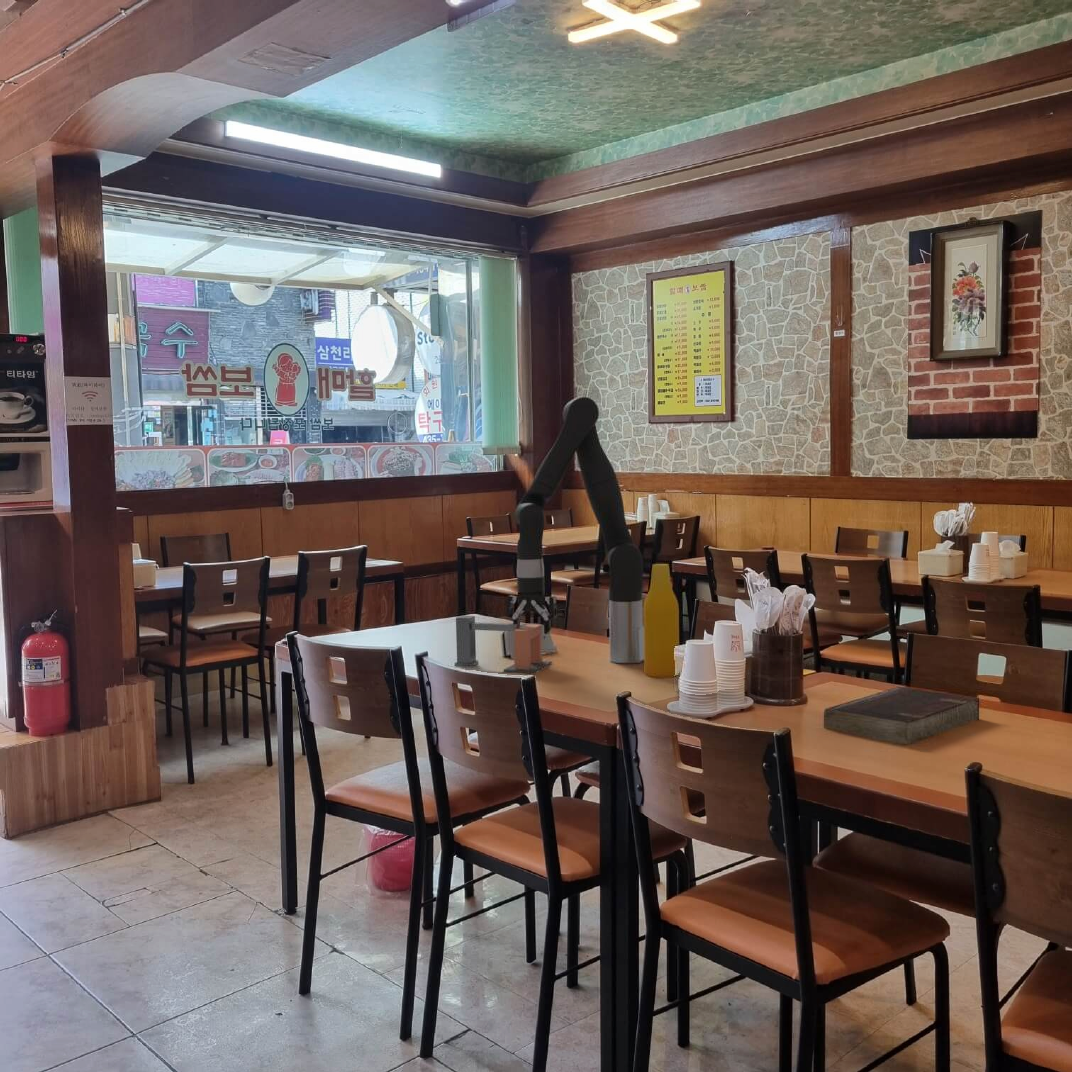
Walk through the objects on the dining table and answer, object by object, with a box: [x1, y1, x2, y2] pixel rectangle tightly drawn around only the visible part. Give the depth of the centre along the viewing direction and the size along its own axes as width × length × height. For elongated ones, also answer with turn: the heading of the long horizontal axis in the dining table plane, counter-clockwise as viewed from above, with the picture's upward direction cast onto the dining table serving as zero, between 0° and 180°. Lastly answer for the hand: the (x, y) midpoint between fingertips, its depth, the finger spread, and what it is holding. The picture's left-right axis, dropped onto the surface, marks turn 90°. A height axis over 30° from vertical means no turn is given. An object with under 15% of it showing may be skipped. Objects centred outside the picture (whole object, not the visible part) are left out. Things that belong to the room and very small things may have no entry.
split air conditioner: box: [500, 623, 558, 660], centre depth 307 cm, size 17×5×10 cm, turn 125°
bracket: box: [454, 615, 517, 668], centre depth 290 cm, size 18×5×14 cm, turn 70°
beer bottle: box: [643, 563, 680, 679], centre depth 272 cm, size 9×9×29 cm
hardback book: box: [823, 686, 980, 746], centre depth 218 cm, size 29×19×5 cm, turn 131°
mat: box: [503, 660, 553, 674], centre depth 286 cm, size 9×14×1 cm, turn 160°
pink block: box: [514, 623, 543, 670], centre depth 286 cm, size 4×11×10 cm, turn 160°
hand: (532, 633), depth 289 cm, fingers open, 8 cm apart
